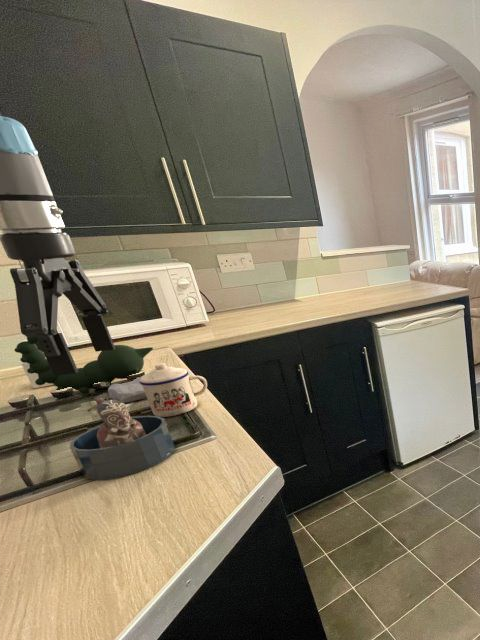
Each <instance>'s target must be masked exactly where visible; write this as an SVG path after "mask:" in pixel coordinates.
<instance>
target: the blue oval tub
mask: <svg viewBox="0 0 480 640" xmlns="http://www.w3.org/2000/svg"><path fill="white" fill-rule="evenodd" d="M131 418H132V419H135V420H137V421H138V422H139V423H140V424H141V425H142V427H143V429H144V431H145V433H146V435H145V436H143V437H140V438H138V439H136V440H133V441H129V442H126V443H123V444H120V445H116V446H111V447H107V448H100V446H99V442H98V438H97V433H98V430H99V428H100V426H101V425H100V426H96V427H94V428H92V429H89V430H87V431H85V432H83V433H82V434H80V435H78V436H76V437H75V438H74V439H73V440H72V441H70V444H69V449H70V451H71V453H72V455H73V457H74V459H75V462H76V463H77V466H78V467H79V469H80V472H81V473H82V475H83V476H84V477H85V478H87V479H89V480H95V481H105V480H113V479H119V478H123V477H126V476H130V475H133V474H136V473H140V472H142V471H144V470H147V469H150V468H151V467H154V466H156V465H158V464H160V463H162V462H163V461H165V460H166V459H168V458H169V457H170V456H171V455H172V454H173V453H174V451H175V448H176V447H175V444H174V441H173V437H172V436H171V432H170V430H169V428H168V425H167V423H166V420H165V417H159V416H155V415H143V416H133V417H131Z"/></svg>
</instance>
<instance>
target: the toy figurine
mask: <svg viewBox="0 0 480 640" xmlns="http://www.w3.org/2000/svg"><path fill="white" fill-rule="evenodd" d="M26 339H27V340H28V341H24V342H21V341H19V342H20V343H18V344H17V345H16V347H15V348H14V352H15V353H18V354H21V357H20V358H19V360H20V362H21V363H22V362H25V363H29V364H30V365H29V367H30V368H29V369H28V370H27V372H28V373H31V374H33V373H37V374H38V377H39V378H38V379H37V380H36V381H35V383H36V384H37V385H44V384H45V382H46V383H52V384H54V385H53V386H55V387H57V388H56V389H55V391H56V390H60V389H64V388H67V387H72V388H73V389H72V390H76V391H78V392H79V393H80V394H83V395H85V394H88V393H90V390H92V389H93V388H95V387H93V384H94V383H98V382H109V383H110V385H112V382H113V381H115V379H117V380H124V379H128V378H127V376H129V375H132V374H136V373H139V372H140V373H141V371H142V370H143V369H144V364H145V359H144V358H145V357H146V356H147V355H149V354H150V353H151V352H152V351H153V350H154V348H153V347H151V346H150V347H141V348H134V347H132V346H130V345H127V344H126V345H125V344H114V346H115V349H114V350H107V351H100V352H99V354H98V356H97V359H96V360H92V361H89V362H87V363H86V364H85V365H83V367H77V369H78V372H77V373H74V374H65V375H56V376H54V374H53V372H52V370H51V368H50V365H49V363H48V361H47V359H46V358H45V354H44V353H43V352H42V351H40V350H38V348H37V345H36V344H35V343H38V342H39V341H38V339H37V337H36V336H34V337H26ZM129 382H131V381H129ZM109 387H110V386H109ZM109 387H105V388H102V389H104V390H105V389H109Z"/></svg>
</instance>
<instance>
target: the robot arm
mask: <svg viewBox="0 0 480 640" xmlns="http://www.w3.org/2000/svg"><path fill="white" fill-rule="evenodd" d="M62 214H63V210H62V209H61V208H59V207H58V205H57V203H56V200H55V198H54V195H53V191H52V189H51V186H50V184H49V181H48V179H47V176H46V174H45V171H44V168H43V165H42V163H41V161H40V158H39V152H38V150H37V149H36V147H35V145H34V143H33V141H32V139H31V137H30V135H29V133H28V131H27V129H26V127H25V126H24V124H23V123H21V122H20V121H18V120H16V119H14V118H11V117H9V116H3V115H0V231H1V234H0V243H1V245H2V248H3V250H4V252H5V254H6V256H7V258H8V259H10V260H13V261H22V263H23V267H15V268H13V267H12V268H10V269H9V273H10V276H11V279H12V281H13V283H14V288H15V290H14V291H15V297H16V305H17V311H18V320H19V327H20V332H21V334H22V335H23V336H24V337H26V338H27V337H34V336H36V337H37V339H38V341H39V344H40V346H41V348H42V350H43V352H44V354H45V357H46V359H47V361H48V363H49V365H50V368H51V370H52V372H53V374H54V376H56V375H65V374H74V373H77V372H78V369H77V368H78V367H77V365H76V363H75V360H74V357H73V356H72V354H71V351H70V349H69V347H68V344H67V342H66V340H65V338H64V335H63V333H62V332H57V331H58V309H59V298H60V297H62V296H64V297H65V298H67V299H68V300H69V301H70V302H71V303H72V304H73V305H74V306H75V308H76V309H78V310H79V311H80V312H81V313H82V314H83V316H81V320H82V322H83V325H84V328H85V329H86V332H87V335H88V337H89V339H90V341H91V344H92V346H93V349H94V351H95V352H96V353H97V352H102V351H107V350H114V349H115V346H114V345H115V344H114V341H113V339H112V336H111V334H110V331H109V329H108V326H107V323H106V320H105V318H104V316H103V315H108V314H109V310H108V308H107V305H106V302H104V300H103V298H102V297H101V295H100V294H99V293H98V291H97V290H96V288H95V286H94V285H93V284H92V282H91V281H90V279H89V278H88V276H87V275H86V273H85V272H84V269H83V267H82V265H81V263H80V261H79V260H78V259H66V258H71V257H75V256H76V253H77V252H76V250H75V248H74V245H73V242H72V240H71V237H70V235H69V234H67V232H63V231H62V229H64V228H65V227H66V225H65V223H64V220H63V218H62Z"/></svg>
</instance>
